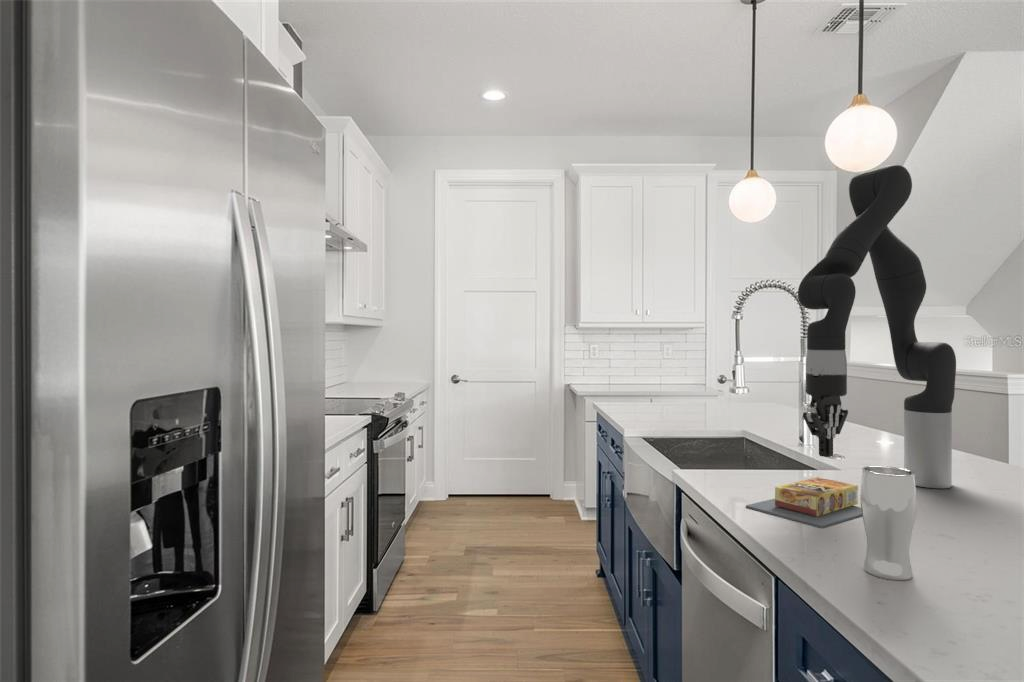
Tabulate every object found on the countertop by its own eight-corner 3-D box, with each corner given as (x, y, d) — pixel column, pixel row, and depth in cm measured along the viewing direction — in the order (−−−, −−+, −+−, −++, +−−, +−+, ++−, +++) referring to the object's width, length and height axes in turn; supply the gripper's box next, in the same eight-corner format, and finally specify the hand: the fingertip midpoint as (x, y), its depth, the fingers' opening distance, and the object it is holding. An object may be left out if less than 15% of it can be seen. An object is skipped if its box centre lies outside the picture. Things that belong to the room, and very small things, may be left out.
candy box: (858, 484, 123) (816, 495, 115) (858, 505, 123) (816, 517, 115) (816, 476, 130) (774, 485, 122) (816, 496, 130) (774, 506, 122)
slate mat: (797, 494, 133) (797, 492, 133) (873, 512, 119) (873, 510, 119) (745, 507, 123) (745, 505, 123) (822, 527, 110) (822, 525, 110)
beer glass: (850, 564, 92) (850, 466, 92) (893, 562, 93) (893, 465, 93) (881, 582, 85) (881, 476, 85) (928, 581, 86) (928, 475, 86)
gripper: (826, 370, 131) (826, 450, 131) (789, 372, 124) (789, 456, 124) (861, 371, 125) (861, 455, 125) (825, 373, 118) (825, 463, 118)
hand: (825, 456), depth 125 cm, fingers closed
